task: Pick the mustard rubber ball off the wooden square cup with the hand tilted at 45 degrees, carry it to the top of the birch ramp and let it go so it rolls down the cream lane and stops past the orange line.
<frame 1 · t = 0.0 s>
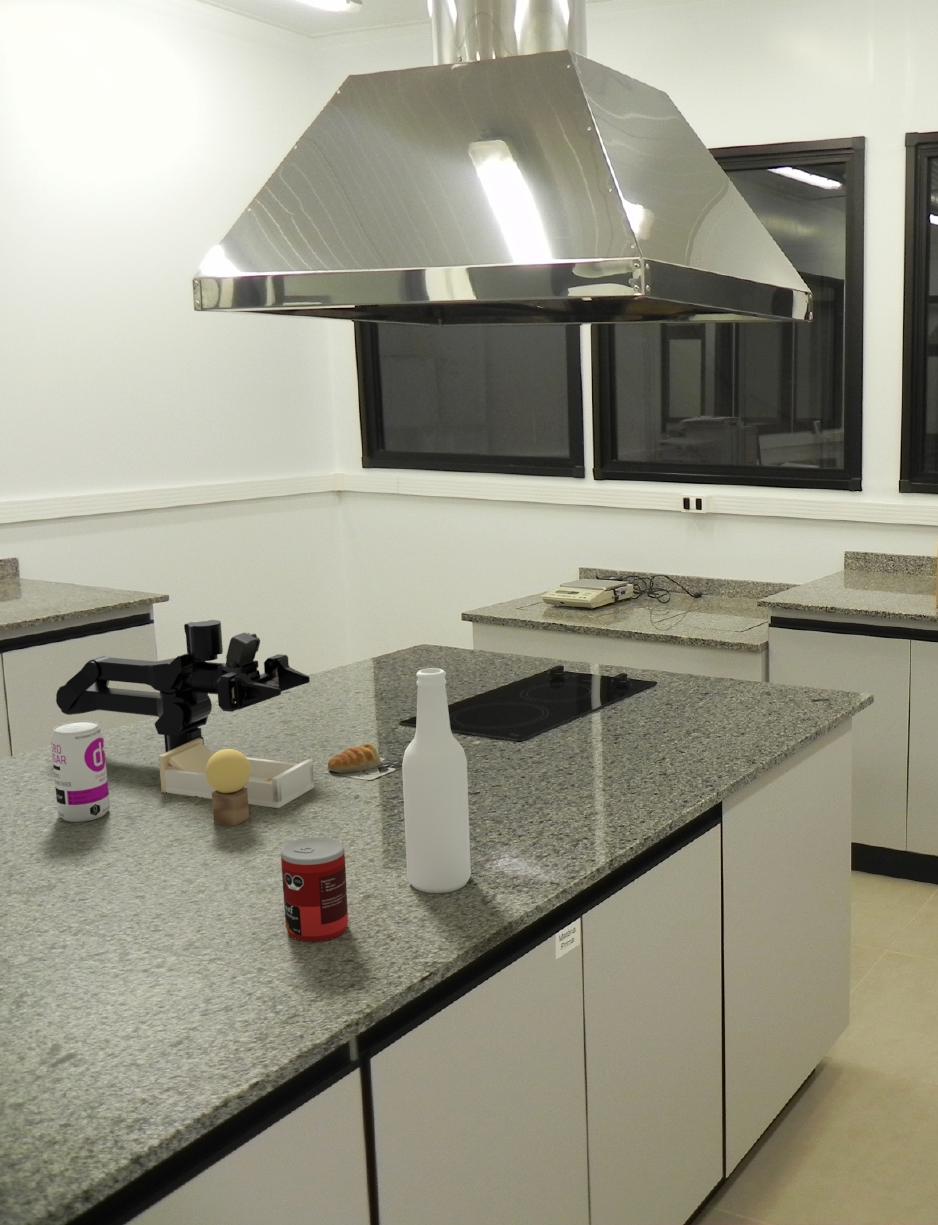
hand: (295, 685, 213), 17 cm above the worktop, tool horizontal, fingers open, 9 cm apart
alcohol: (439, 882, 169), on the worktop
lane: (240, 789, 210), on the worktop
canned food: (317, 931, 155), on the worktop
wooden square cup: (231, 820, 195), on the worktop
pastry: (356, 768, 221), on the worktop
supplement can: (84, 815, 200), on the worktop
ball: (228, 770, 194), point 8 cm above the worktop, touching wooden square cup
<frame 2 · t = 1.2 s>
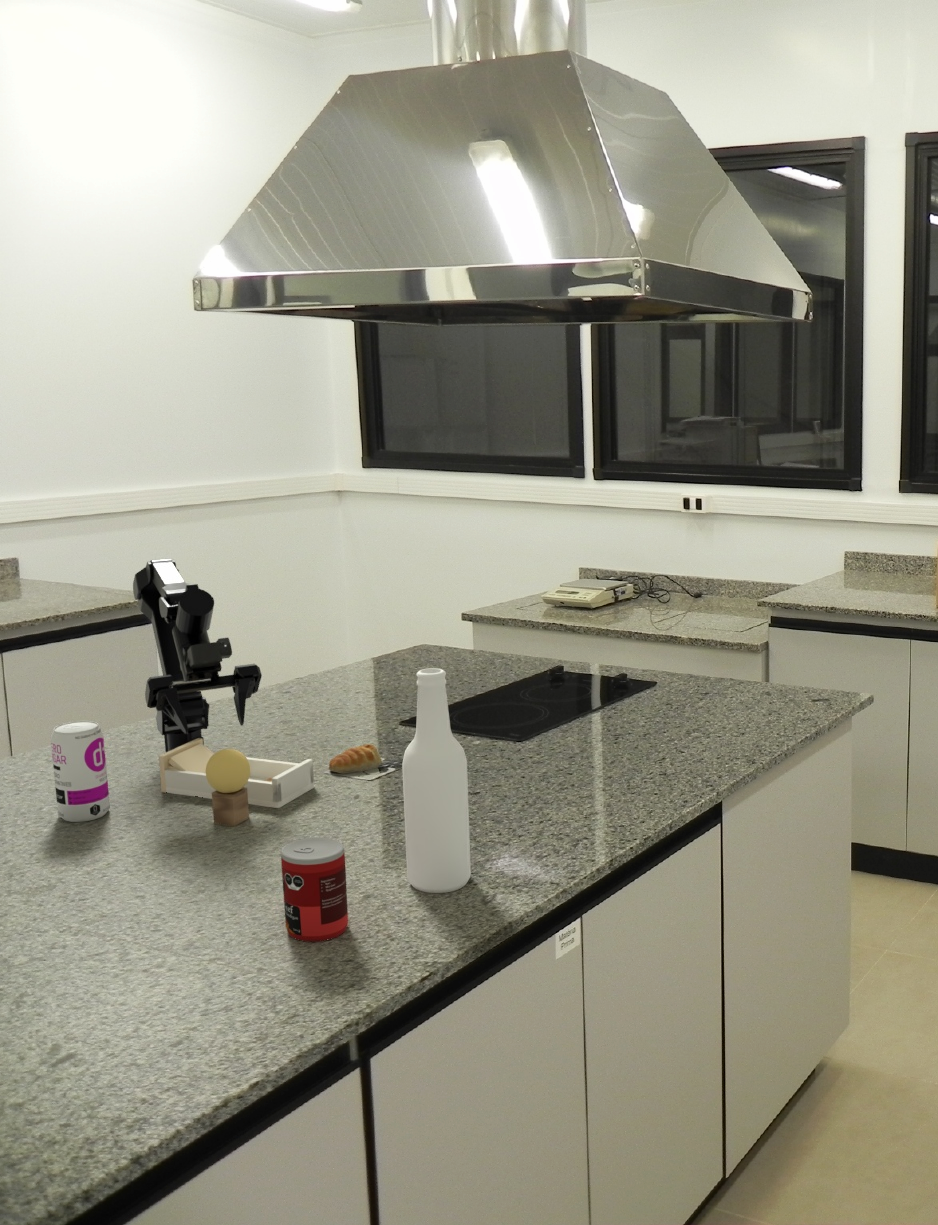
hand: (214, 728, 200), 13 cm above the worktop, tool tilted 45°, fingers open, 9 cm apart
nothing on the worktop moved.
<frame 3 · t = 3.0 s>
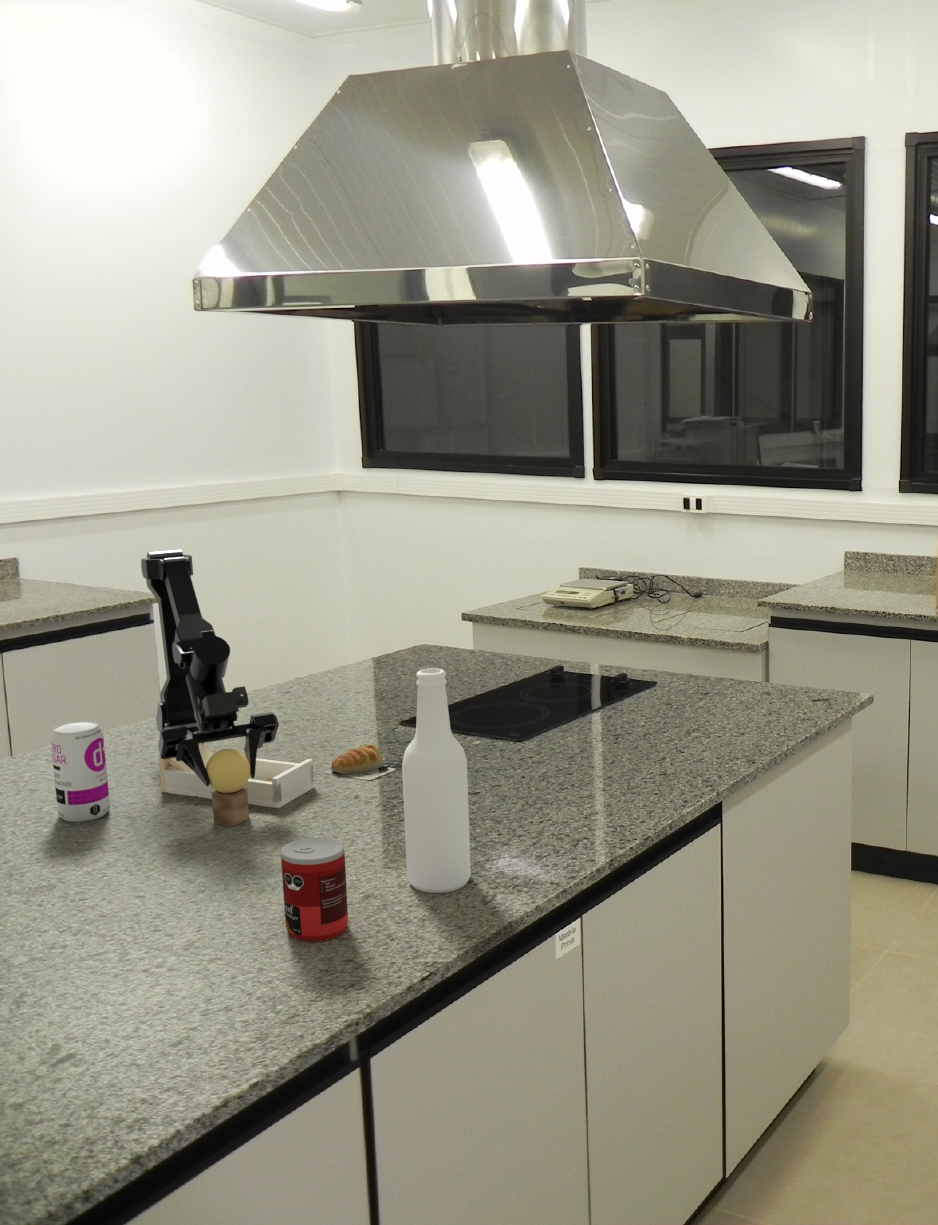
hand: (230, 781, 193), 7 cm above the worktop, tool tilted 45°, fingers closed on ball, 7 cm apart
ball: (228, 770, 194), point 8 cm above the worktop, touching gripper, wooden square cup
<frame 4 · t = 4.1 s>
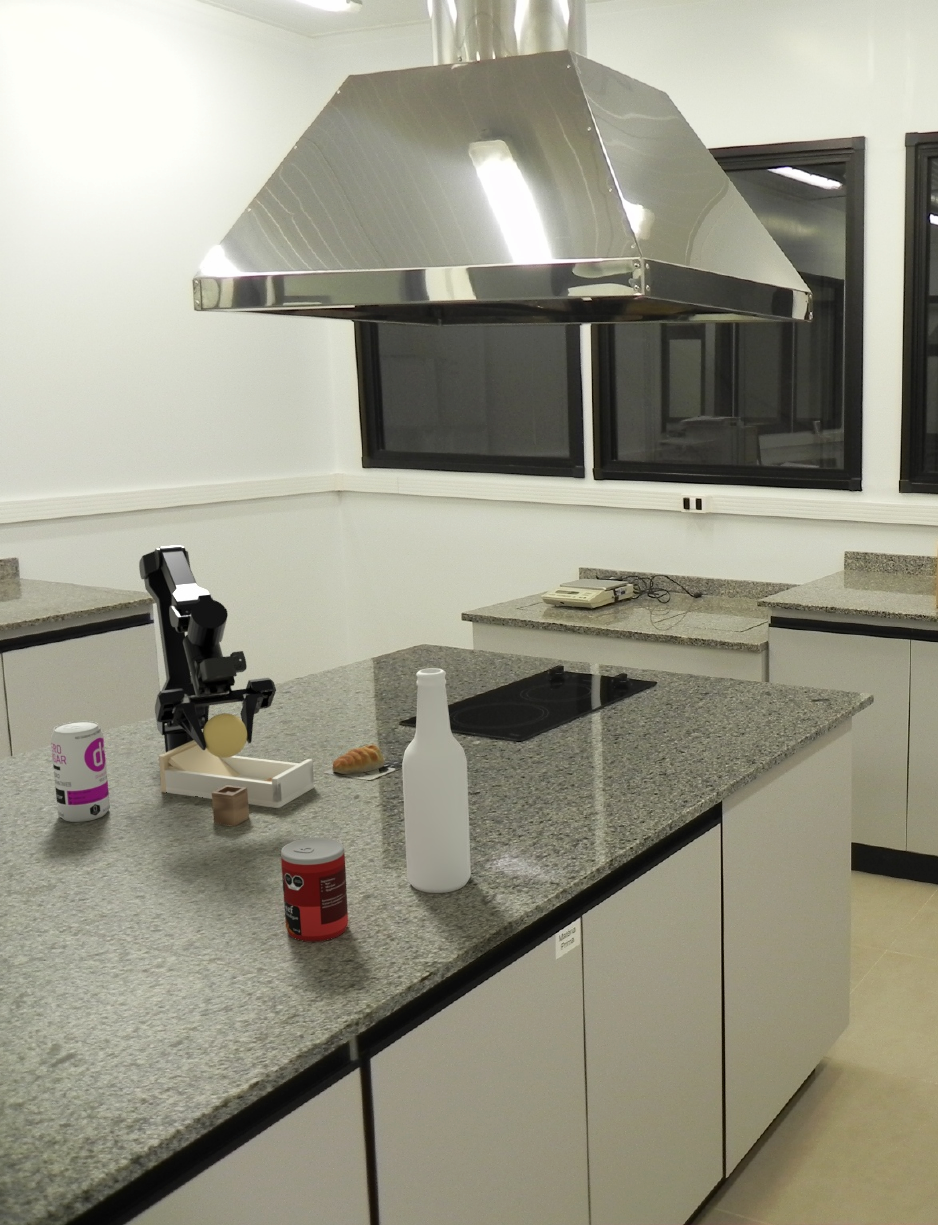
hand: (227, 745, 192), 13 cm above the worktop, tool tilted 45°, fingers closed on ball, 7 cm apart
ball: (224, 735, 193), point 14 cm above the worktop, touching gripper
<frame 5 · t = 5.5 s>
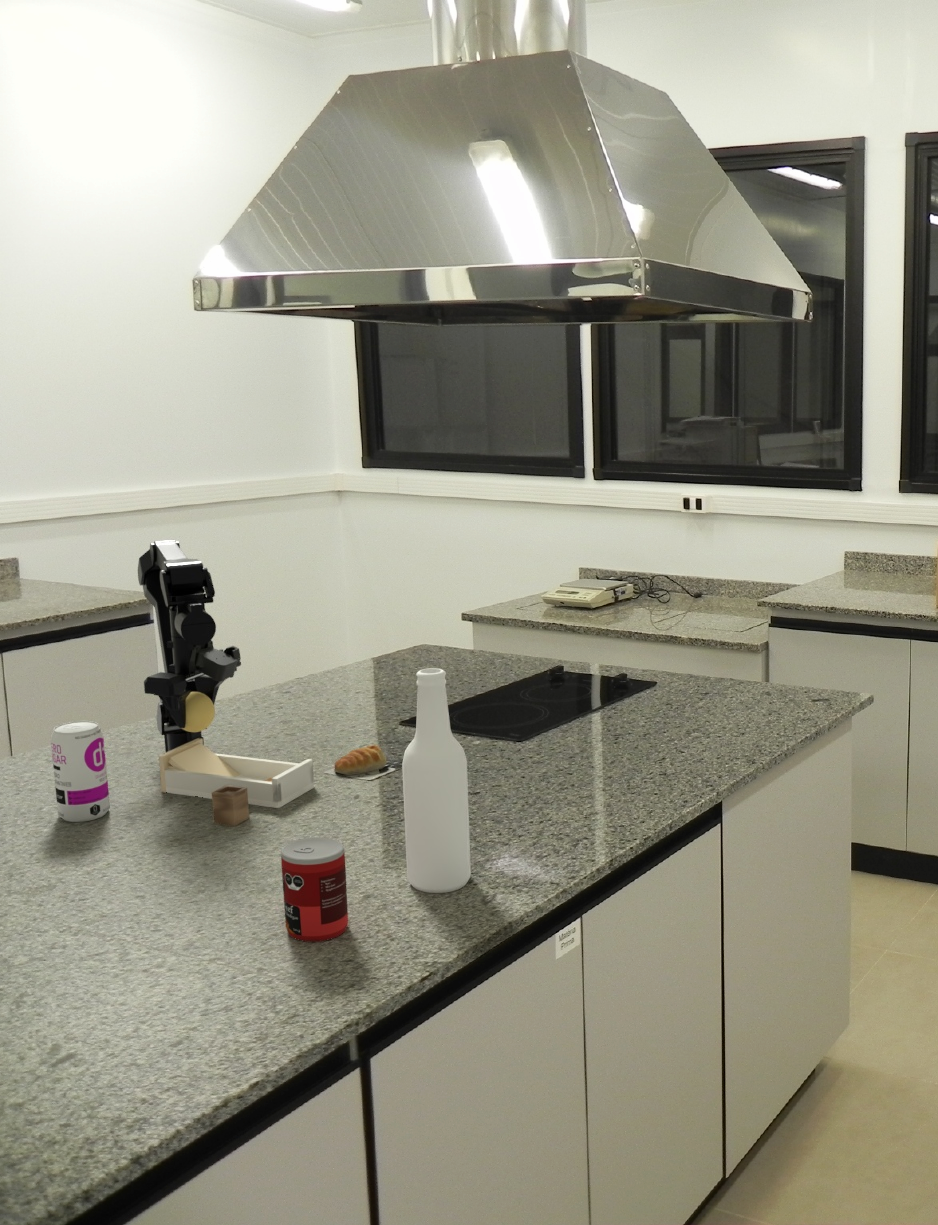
hand: (195, 722, 212), 11 cm above the worktop, tool pointing down, fingers closed on ball, 7 cm apart
ball: (194, 712, 211), point 13 cm above the worktop, tilted 46°, touching gripper
when the fingers open (9 cm above the worktop, at t = 6.2 s): ball drops 7 cm, resting on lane.
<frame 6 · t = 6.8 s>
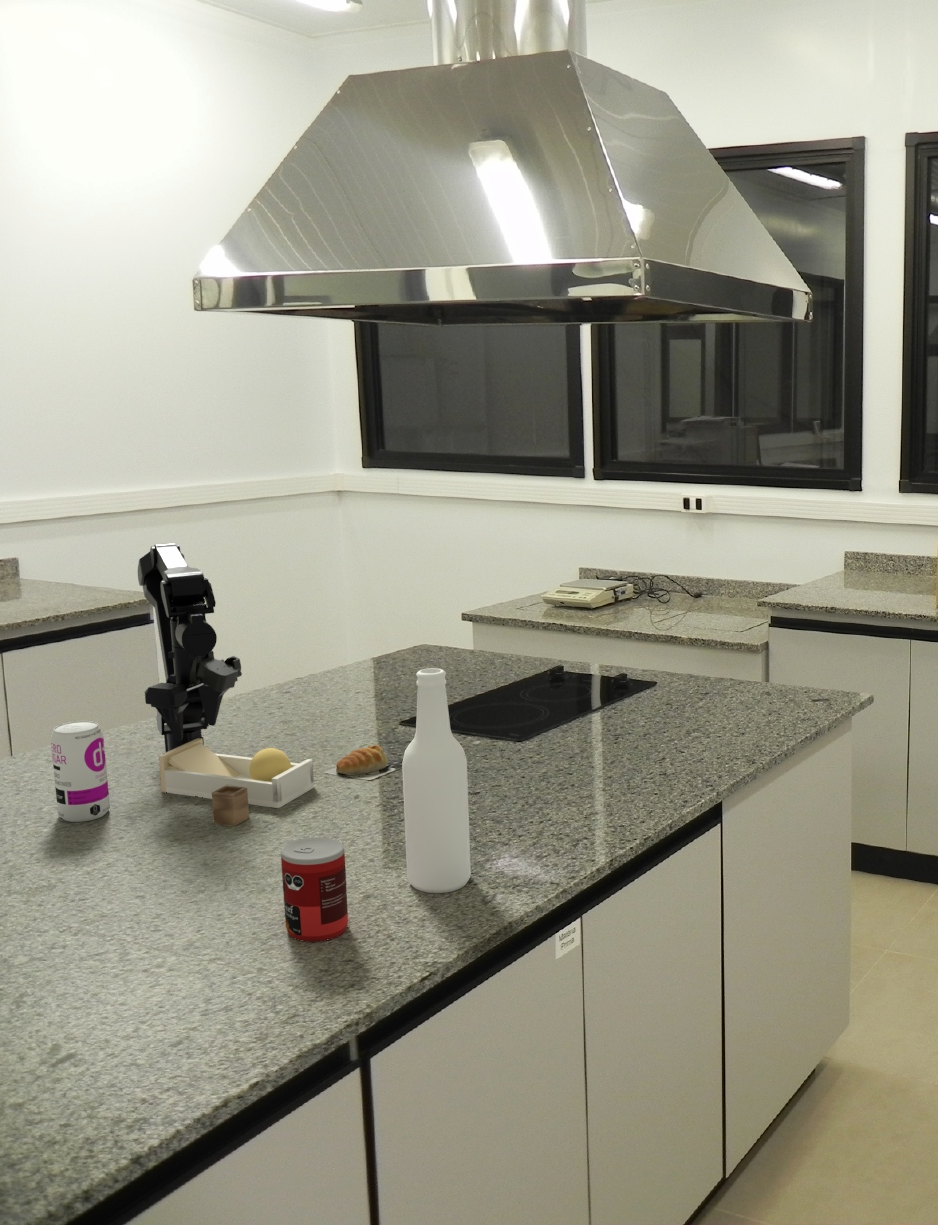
hand: (196, 732, 212), 9 cm above the worktop, tool pointing down, fingers open, 9 cm apart
ball: (270, 768, 206), point 4 cm above the worktop, tilted 14°, touching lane
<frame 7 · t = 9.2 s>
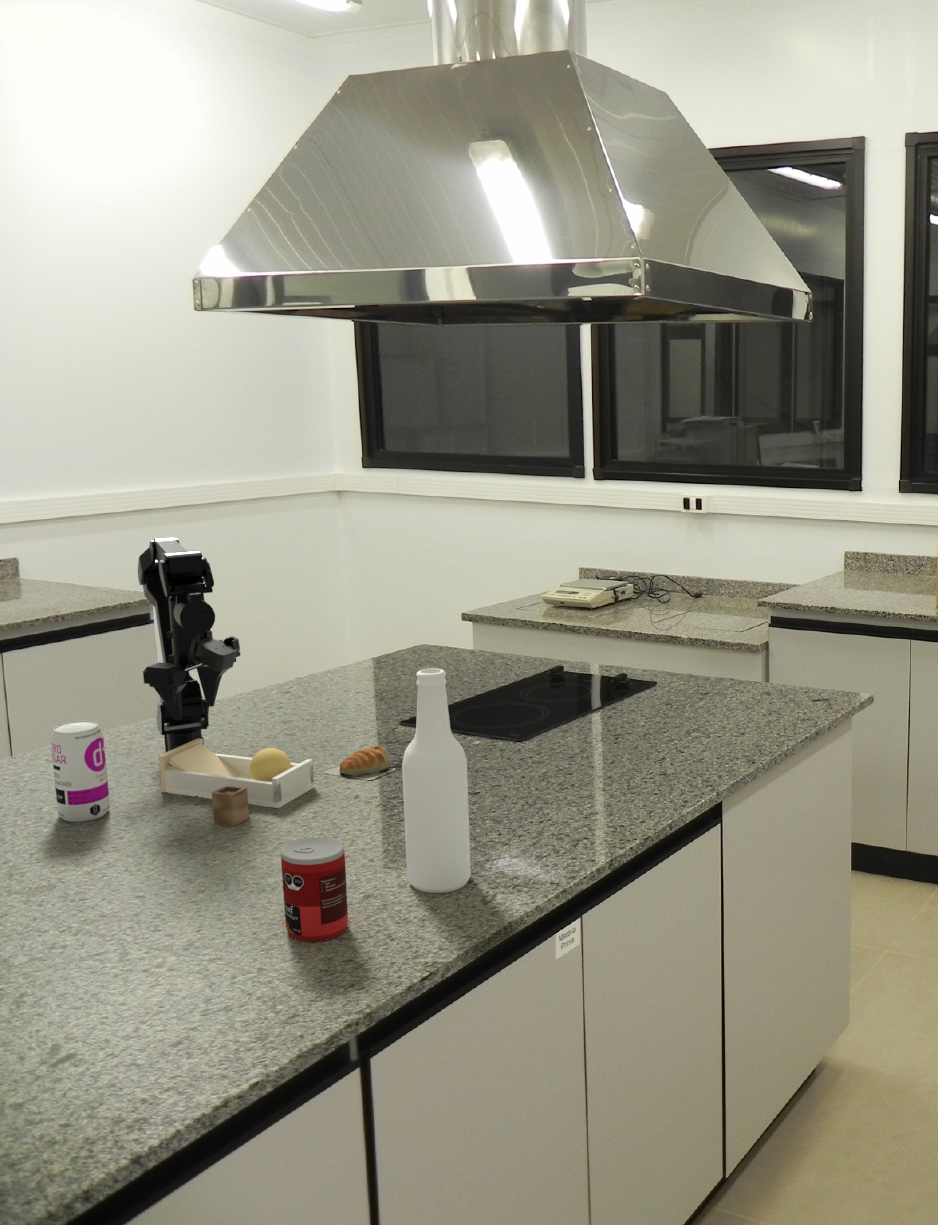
hand: (194, 712, 211), 13 cm above the worktop, tool pointing down, fingers open, 9 cm apart
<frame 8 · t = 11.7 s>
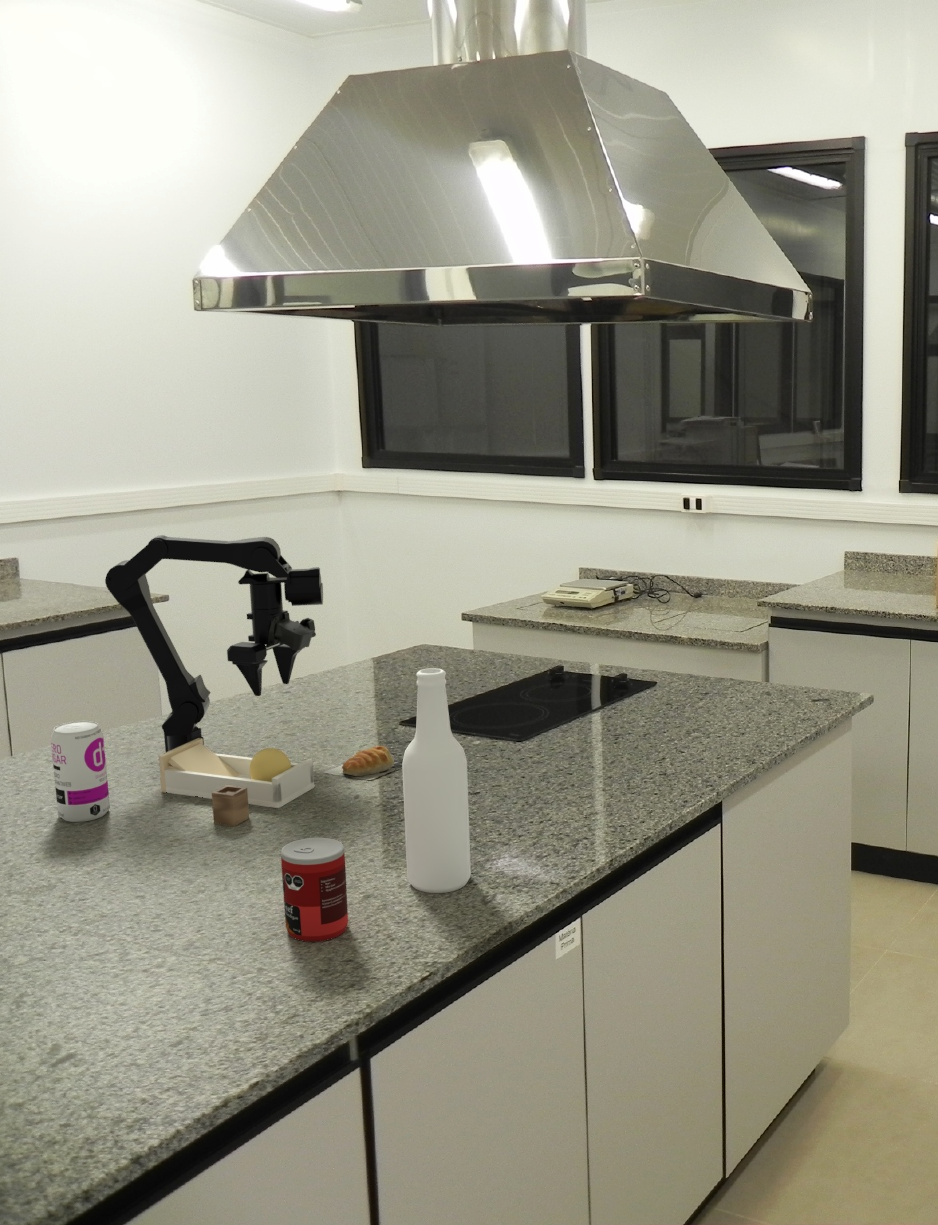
hand: (272, 689, 225), 13 cm above the worktop, tool pointing down, fingers open, 9 cm apart
at the end: ball inside the target area on the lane (1.2 cm from its centre), point 4.5 cm above the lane's base; the gripper is holding nothing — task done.
